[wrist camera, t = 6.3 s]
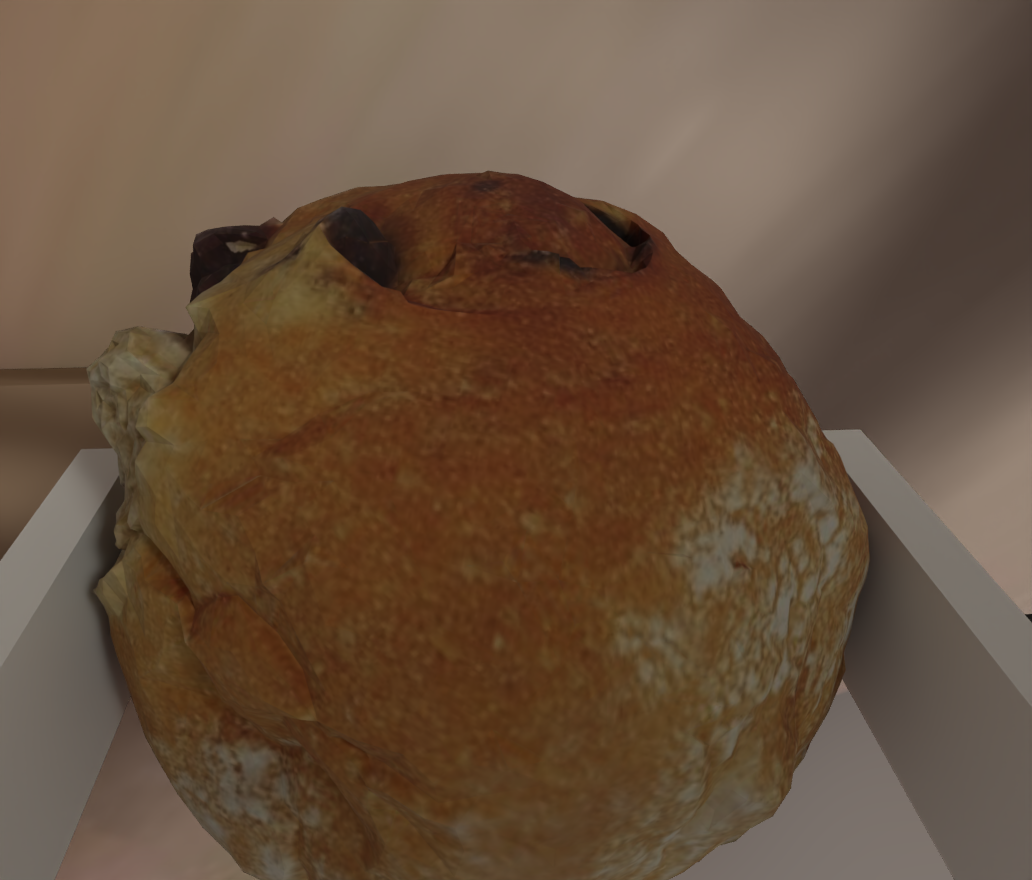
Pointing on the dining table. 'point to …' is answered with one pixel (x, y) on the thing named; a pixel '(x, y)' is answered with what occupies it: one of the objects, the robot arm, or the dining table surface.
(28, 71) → the dining table surface
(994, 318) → the dining table surface
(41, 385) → the trivet
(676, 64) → the dining table surface
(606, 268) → the bread roll
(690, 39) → the dining table surface
